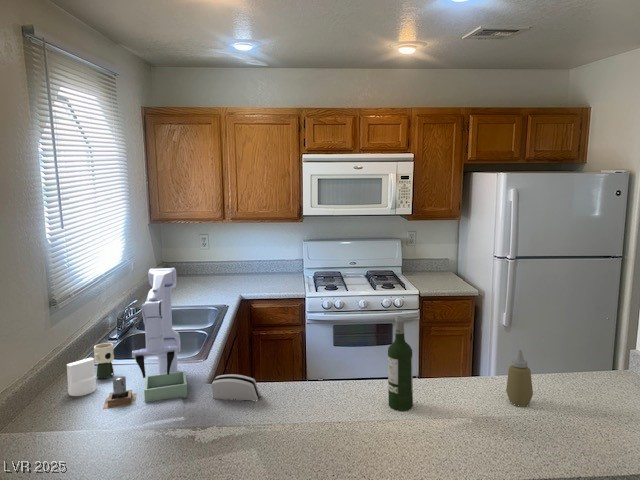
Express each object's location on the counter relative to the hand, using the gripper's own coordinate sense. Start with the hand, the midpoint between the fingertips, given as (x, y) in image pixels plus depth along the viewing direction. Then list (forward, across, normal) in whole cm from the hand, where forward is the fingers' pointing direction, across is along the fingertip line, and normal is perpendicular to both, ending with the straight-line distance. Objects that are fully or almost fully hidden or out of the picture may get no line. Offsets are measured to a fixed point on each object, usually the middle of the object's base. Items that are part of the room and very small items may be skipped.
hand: (156, 375), depth 153 cm
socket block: (+10, -12, +5) cm, 17 cm away
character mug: (+10, -20, +36) cm, 42 cm away
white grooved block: (+10, -26, +20) cm, 35 cm away
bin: (+10, +3, +8) cm, 13 cm away
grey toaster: (+10, +26, -6) cm, 28 cm away
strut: (+9, -12, +5) cm, 16 cm away
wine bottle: (+10, +76, -34) cm, 83 cm away
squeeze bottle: (+10, +112, -47) cm, 122 cm away
